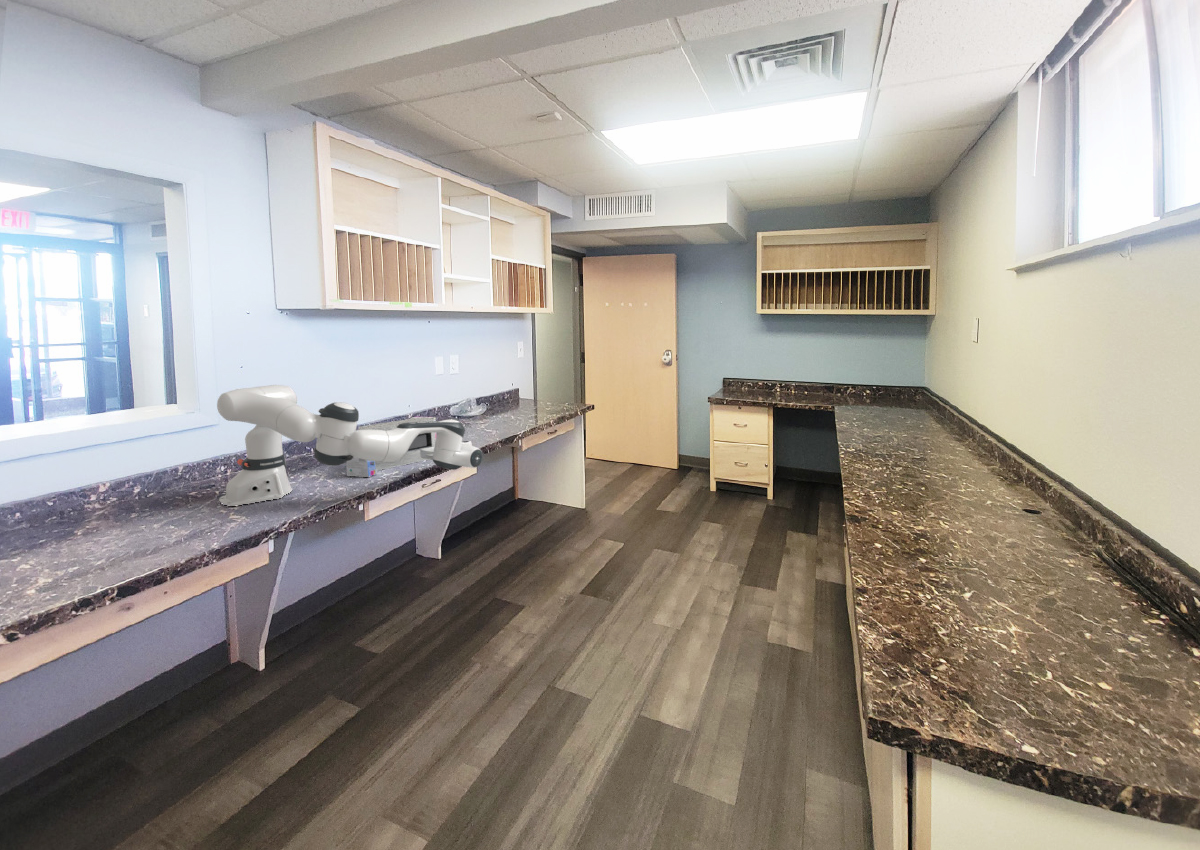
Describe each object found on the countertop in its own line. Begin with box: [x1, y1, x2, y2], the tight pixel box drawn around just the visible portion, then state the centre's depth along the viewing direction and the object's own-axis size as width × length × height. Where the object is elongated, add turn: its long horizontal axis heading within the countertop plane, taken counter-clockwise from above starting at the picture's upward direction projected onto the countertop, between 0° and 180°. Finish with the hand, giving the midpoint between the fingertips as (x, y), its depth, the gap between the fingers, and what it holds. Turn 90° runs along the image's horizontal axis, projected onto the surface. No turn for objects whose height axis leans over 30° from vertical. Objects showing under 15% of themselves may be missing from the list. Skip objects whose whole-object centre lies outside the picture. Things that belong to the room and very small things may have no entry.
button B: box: [409, 434, 427, 449], centre depth 249 cm, size 10×5×5 cm, turn 137°
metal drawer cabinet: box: [357, 416, 436, 472], centre depth 245 cm, size 30×9×18 cm, turn 137°
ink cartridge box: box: [345, 456, 377, 478], centre depth 227 cm, size 10×6×14 cm, turn 79°
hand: (435, 447), depth 237 cm, fingers closed
